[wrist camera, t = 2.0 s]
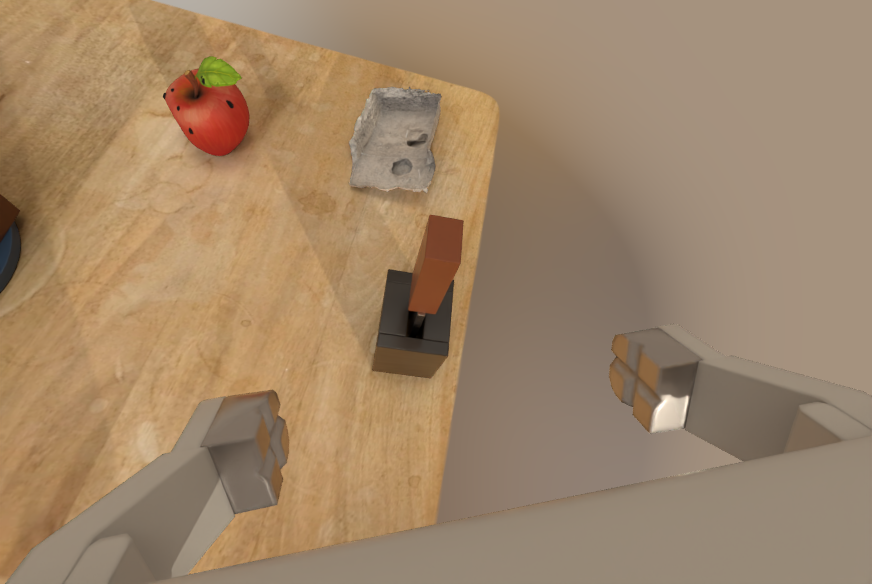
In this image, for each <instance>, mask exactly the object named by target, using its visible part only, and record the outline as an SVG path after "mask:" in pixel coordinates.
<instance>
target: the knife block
mask: <svg viewBox="0 0 872 584" xmlns="http://www.w3.org/2000/svg"><path fill="white" fill-rule="evenodd" d="M412 274H413V273H408V272H402V271H396V270H390V269H389V270H388V274H387V280H386V286H385V292H384V298H383V304H382V311H381V317H380V324H379V330H378V336H377V343H376V349H375V356H374V362H373V369H372V370H373V371H379V372H386V373H394V374H402V375H409V376H417V377H425V378H432V376H433V375H434V374H435V372H436V371H437V370H438V368H439V367H440V366H441V364H442V363H443V362H444V360H445V359H446V358H447V357H448V351H449V338H450V325H451V312H452V299H453V287H454V280H452V282H451V284H450V286H449V288H448V290H447V292H446V294H445V296H444V298H443V300H442V302H441V304H440V306H439V308H438V310H437V312H436V314H429V313H425V317H424V320H423V322H422V324H421V327H420V329H419V331H418V333H417V336H416V338H410V337H406V330H407V322H408V315H409V312H410V311H409V310H408V306H409V298H410V290H411V282H412Z"/></svg>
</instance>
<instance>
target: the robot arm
mask: <svg viewBox="0 0 872 584" xmlns="http://www.w3.org/2000/svg"><path fill="white" fill-rule="evenodd" d="M611 350H612V351H613V353H614V354H615V355H616V358H615V359H614V361H613V362H612V363H611V365H610V371H609V378H610V382H611V386H612V389H613V391H614V393H615V394H616V396H617V397H618V398H619V400H620V401H621V402H622V403H625V404H627V405H629V406H632V407H633V415H634V417H635V418H636V419H637V420H638V421H639V422H640V423H641V424H642V426H643V427H644V428H645V429H646V430H647V431H648V432H649V433H650V434H652V433H658V432H664V431H671V430H677V429H683V428H685V430H686V431H688V432H690V433H692V434H694V435H695V436H697V437H699V438H701V439H703V440H705V441H707V442H708V443H710V444H712V445H714V446H716V447H718V448H720V449H721V450H723V451H725V452H727V453H729V454H731V455H733V456H735V457H736V458H738V459H740V460H742V461H744V462H739V463H735V464H730V465H725V466H720V467H715V468H710V469H705V470H700V471H695V472H690V473H685V474H680V475H675V476H670V477H666V478H661V479H656V480H651V481H646V482H641V483H636V484H631V485H626V486H621V487H616V488H611V489H606V490H601V491H596V492H591V493H587V494H581V495H576V496H572V497H567V498H562V499H557V500H552V501H547V502H543V503H537V504H533V505H528V506H523V507H518V508H513V509H508V510H503V511H498V512H493V513H488V514H484V515H479V516H474V517H469V518H464V519H459V520H454V521H449V522H445V523H440V524H435V525H430V526H425V527H420V528H415V529H410V530H405V531H401V532H396V533H391V534H386V535H381V536H376V537H371V538H366V539H361V540H356V541H351V542H346V543H342V544H337V545H332V546H327V547H322V548H317V549H312V550H307V551H302V552H297V553H292V554H287V555H283V556H278V557H273V558H268V559H263V560H258V561H253V562H248V563H243V564H238V565H233V566H229V567H224V568H219V569H214V570H209V571H204V572H199V573H194V574H189V575H187V574H188V573H189V572H190V571H191V570H192V568H193V567H194V566H195V565H196V563H197V562H198V561H199V560H200V559H201V557H202V556H203V555H204V554H205V552H206V551H207V550H208V549H209V548H210V546H211V545H212V544H213V543H214V541H215V540H216V539H217V538H218V537H219V535H220V534H221V533H222V532H223V530H224V529H225V528H226V527H227V526H228V524H229V523H230V522H231V521H232V519H233V518H234V517H235V515H234V514H238V513H242V512H247V511H251V510H256V509H260V508H265V507H270V506H274V505H277V504H278V499H279V495H280V491H281V486H282V482H283V477H282V474H281V470H280V469H281V468H282V467H283V466H284V465H285V464H286V463H287V459H288V454H289V436H288V429H287V426H286V422H285V420H284V419H282V418H281V417H280V416H278V412H279V408H280V402H279V399H278V396H277V393H276V392H275V391H274V390H268V391H260V392H253V393H246V394H239V395H232V396H228V397H225V396H224V397H218V398H213V399H207V400H204V401H202V402H200V403H199V404H198V406H197V408H196V409H195V411H194V413H193V415H192V416H191V418H190V420H189V422H188V423H187V425H186V427H185V429H184V430H183V432H182V434H181V435H180V437H179V439H178V441H177V442H176V444H175V446H174V448H173V449H172V451H171V453H165V454H162V455H161V456H159V457H158V458H157V459H155V460H154V461H152V462H151V463H150V464H148V465H147V466H145V467H144V468H143V469H141V470H140V471H139V472H137V473H136V474H134V475H133V476H132V477H130V478H129V479H128V480H126V481H125V482H123V483H122V484H121V485H119V486H118V487H117V488H115V489H114V490H112V491H111V492H110V493H108V494H107V495H105V496H104V497H103V498H101V499H100V500H99V501H97V502H96V503H94V504H93V505H92V506H90V507H89V508H88V509H86V510H85V511H83V512H82V513H81V514H79V515H78V516H77V517H75V518H74V519H72V520H71V521H70V522H68V523H67V524H65V525H64V526H63V527H61V528H60V529H59V530H57V531H56V532H54V533H53V534H52V535H50V536H49V537H48V538H46V539H45V540H43V541H42V542H41V543H39V544H38V545H37V546H35V547H34V548H32V549H31V550H30V552H29V553H28V554H27V556H26V557H25V558H24V560H23V561H22V562H21V564H20V565H19V566H18V567H17V569H16V570H15V571H14V573H13V574H12V575H11V577H10V578H9V579H8V580H7V582H6V583H5V584H872V396H871V395H869V394H867V393H866V392H864V391H860V390H856V389H853V388H849V387H845V386H841V385H838V384H834V383H830V382H827V381H823V380H820V379H816V378H812V377H809V376H805V375H802V374H798V373H794V372H791V371H787V370H783V369H779V368H776V367H772V366H769V365H765V364H761V363H757V362H754V361H750V360H746V359H743V358H739V357H736V356H727V357H726V356H724V355H723V354H721V353H720V352H719V351H717V350H715V349H714V348H713V347H711V346H709V345H708V344H707V343H705V342H704V341H702V340H701V339H699V338H698V337H696V336H694V335H693V334H692V333H690V332H689V331H687V330H685V329H684V328H683V327H681V326H680V325H675V324H670V325H665V326H660V327H655V328H651V329H646V330H641V331H635V332H629V333H624V334H618V335H615V337H614V339H613V341H612V349H611Z"/></svg>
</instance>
